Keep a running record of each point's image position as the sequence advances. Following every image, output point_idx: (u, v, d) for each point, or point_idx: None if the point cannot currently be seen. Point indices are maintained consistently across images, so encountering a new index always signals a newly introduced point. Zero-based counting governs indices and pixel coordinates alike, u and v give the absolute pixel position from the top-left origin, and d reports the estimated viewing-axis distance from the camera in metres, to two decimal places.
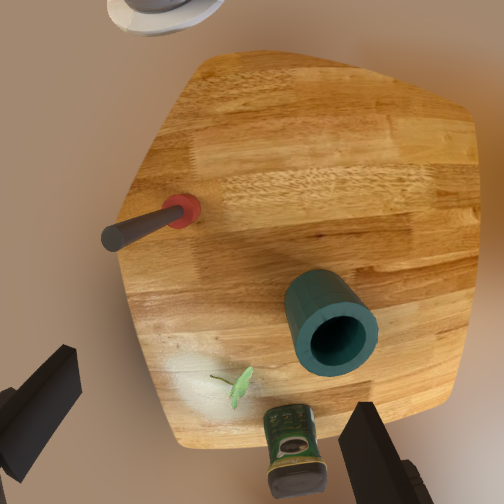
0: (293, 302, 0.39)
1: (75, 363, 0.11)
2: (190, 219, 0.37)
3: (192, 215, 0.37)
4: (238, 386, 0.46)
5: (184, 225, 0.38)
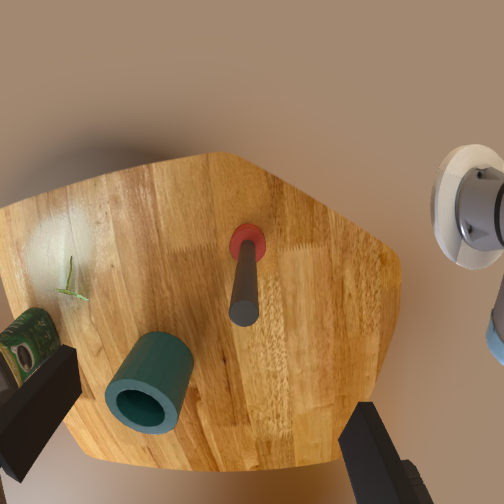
0: (163, 354, 0.38)
1: (75, 363, 0.11)
2: None
3: None
4: (67, 290, 0.40)
5: (233, 254, 0.36)
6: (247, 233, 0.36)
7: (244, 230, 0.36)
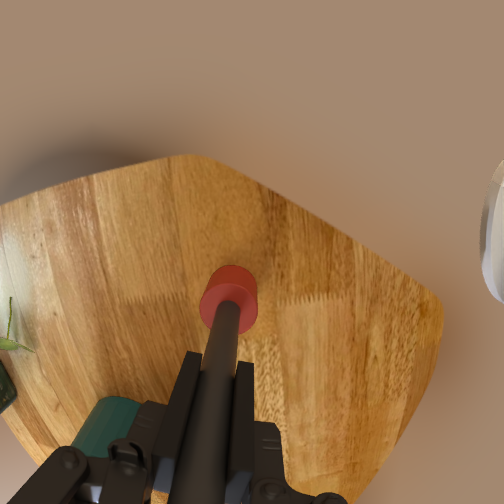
0: (122, 434, 0.25)
1: (199, 368, 0.13)
2: None
3: None
4: (8, 340, 0.26)
5: (205, 321, 0.22)
6: (228, 291, 0.22)
7: (222, 285, 0.22)
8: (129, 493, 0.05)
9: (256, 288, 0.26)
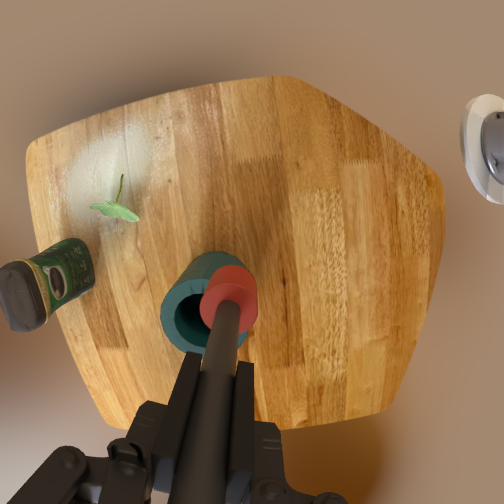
0: None
1: (199, 368, 0.13)
2: None
3: None
4: (115, 208, 0.40)
5: (206, 320, 0.22)
6: (228, 290, 0.22)
7: (222, 285, 0.22)
8: (129, 493, 0.05)
9: (256, 288, 0.26)
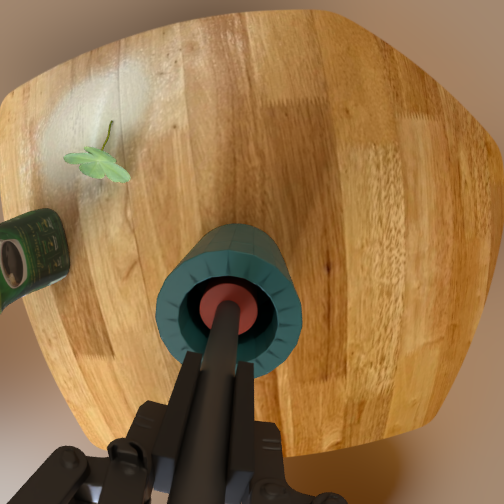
0: (258, 237, 0.26)
1: (199, 368, 0.13)
2: None
3: None
4: (98, 162, 0.27)
5: (205, 321, 0.22)
6: (227, 291, 0.22)
7: (222, 285, 0.22)
8: (129, 493, 0.05)
9: (256, 288, 0.26)
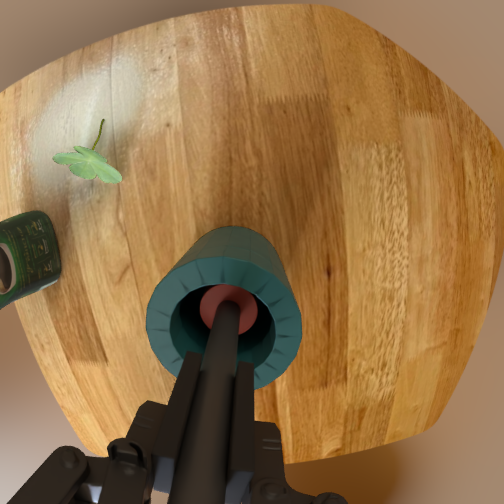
0: (255, 241, 0.24)
1: (199, 367, 0.13)
2: None
3: None
4: (88, 162, 0.26)
5: (205, 320, 0.22)
6: (228, 290, 0.22)
7: (222, 285, 0.22)
8: (129, 493, 0.05)
9: None
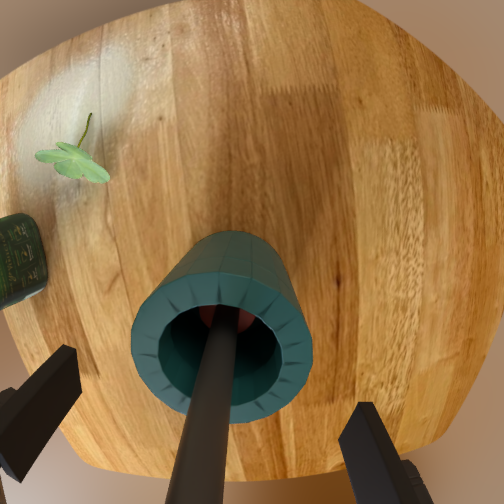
0: (257, 250, 0.21)
1: (75, 363, 0.11)
2: None
3: None
4: (74, 160, 0.23)
5: (205, 320, 0.22)
6: None
7: None
8: None
9: None
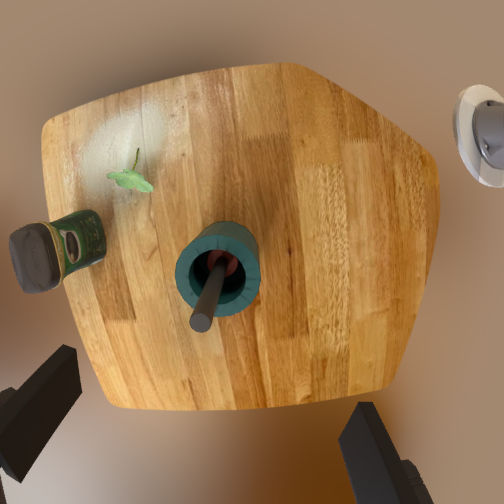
0: (238, 229, 0.41)
1: (74, 363, 0.11)
2: None
3: None
4: (131, 178, 0.42)
5: (210, 268, 0.42)
6: (222, 251, 0.42)
7: None
8: None
9: None
